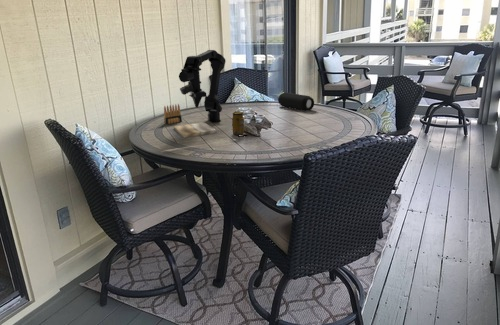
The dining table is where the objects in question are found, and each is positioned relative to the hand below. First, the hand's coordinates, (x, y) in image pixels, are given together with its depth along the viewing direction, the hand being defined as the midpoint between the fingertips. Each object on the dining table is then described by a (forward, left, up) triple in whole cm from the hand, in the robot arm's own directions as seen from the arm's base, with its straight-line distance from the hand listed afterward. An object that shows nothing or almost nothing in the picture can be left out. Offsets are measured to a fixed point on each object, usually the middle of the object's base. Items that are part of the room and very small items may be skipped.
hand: (196, 107), depth 229 cm
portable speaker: (-75, -14, -12) cm, 77 cm away
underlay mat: (+6, +9, -12) cm, 16 cm away
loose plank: (0, +9, -11) cm, 14 cm away
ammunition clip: (+10, -16, -12) cm, 23 cm away
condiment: (-14, +26, -12) cm, 32 cm away
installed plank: (+10, +9, -11) cm, 17 cm away
